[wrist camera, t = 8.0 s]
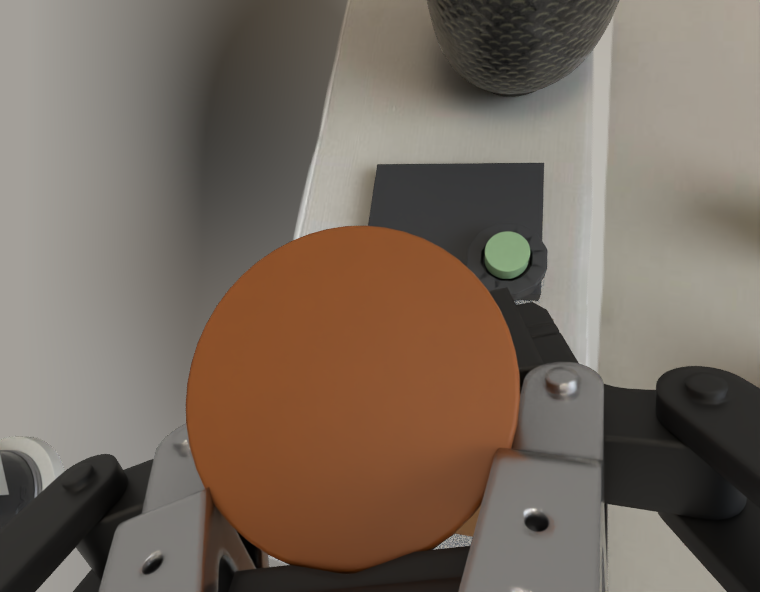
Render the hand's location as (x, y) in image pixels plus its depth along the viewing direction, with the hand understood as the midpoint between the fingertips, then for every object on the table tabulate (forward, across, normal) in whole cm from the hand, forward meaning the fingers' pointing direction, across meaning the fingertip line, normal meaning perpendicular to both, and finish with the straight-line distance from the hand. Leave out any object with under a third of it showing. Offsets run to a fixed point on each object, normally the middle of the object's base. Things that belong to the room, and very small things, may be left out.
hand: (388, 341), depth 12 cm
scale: (+33, -3, +8) cm, 34 cm away
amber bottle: (+2, 0, +5) cm, 5 cm away
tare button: (+27, -7, +10) cm, 29 cm away
